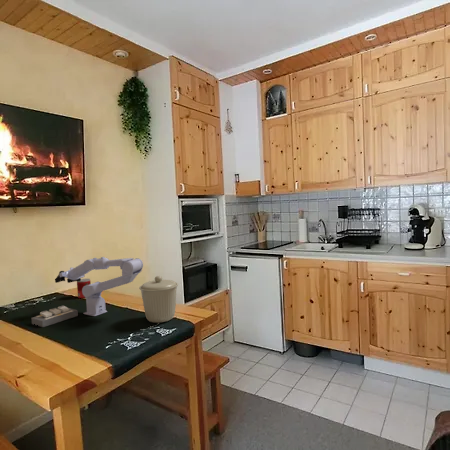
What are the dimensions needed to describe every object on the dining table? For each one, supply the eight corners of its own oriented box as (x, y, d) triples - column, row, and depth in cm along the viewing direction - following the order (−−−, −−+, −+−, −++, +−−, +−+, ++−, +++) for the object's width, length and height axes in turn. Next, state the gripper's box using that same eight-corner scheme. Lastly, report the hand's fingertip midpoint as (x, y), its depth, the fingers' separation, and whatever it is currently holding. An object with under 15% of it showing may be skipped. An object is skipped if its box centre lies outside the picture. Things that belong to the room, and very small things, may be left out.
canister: (163, 311, 173) (160, 270, 172) (187, 317, 162) (185, 274, 161) (133, 321, 159) (130, 277, 158) (158, 328, 148) (155, 281, 147)
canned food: (88, 298, 206) (87, 280, 206) (75, 299, 206) (74, 281, 206) (93, 295, 214) (92, 278, 213) (81, 295, 214) (80, 278, 213)
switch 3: (69, 310, 171) (69, 308, 171) (63, 312, 168) (63, 309, 168) (63, 307, 174) (63, 305, 173) (57, 309, 171) (57, 306, 171)
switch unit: (77, 315, 172) (77, 309, 172) (42, 327, 157) (42, 320, 157) (66, 313, 178) (66, 307, 178) (31, 323, 163) (31, 317, 162)
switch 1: (51, 315, 163) (52, 313, 163) (45, 317, 161) (45, 315, 161) (46, 312, 166) (46, 310, 166) (40, 314, 164) (40, 312, 163)
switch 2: (60, 313, 167) (60, 310, 167) (54, 314, 165) (55, 312, 164) (54, 309, 170) (54, 307, 170) (49, 311, 167) (49, 309, 167)
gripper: (88, 265, 185) (71, 274, 189) (66, 263, 172) (48, 273, 176) (91, 276, 183) (73, 286, 187) (69, 276, 170) (51, 286, 174)
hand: (61, 281), depth 182 cm, fingers open, 7 cm apart
